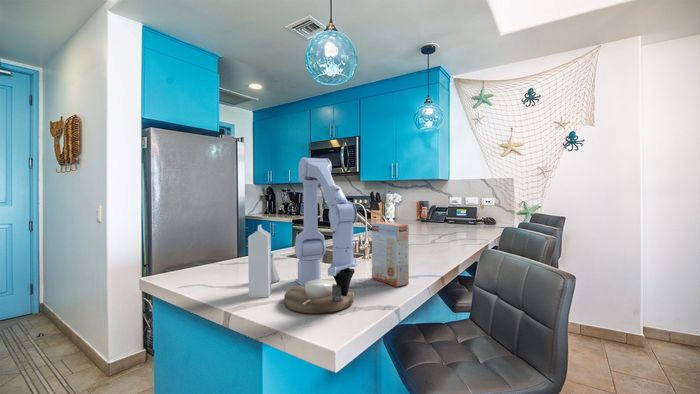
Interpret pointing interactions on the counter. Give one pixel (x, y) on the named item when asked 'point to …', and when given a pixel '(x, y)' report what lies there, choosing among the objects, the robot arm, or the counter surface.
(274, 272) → the flask
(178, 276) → the counter surface
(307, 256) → the robot arm
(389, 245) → the cracker box
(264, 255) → the milk
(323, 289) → the dish
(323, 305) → the turntable
